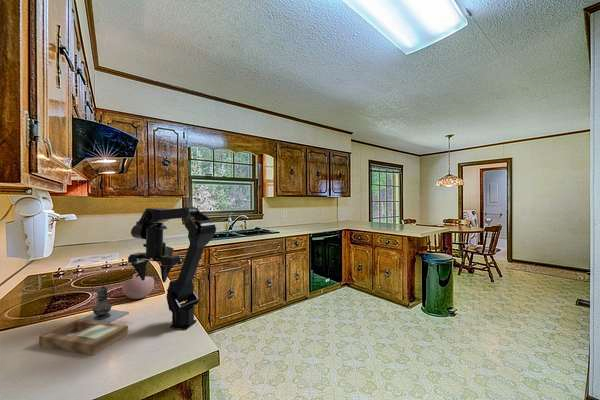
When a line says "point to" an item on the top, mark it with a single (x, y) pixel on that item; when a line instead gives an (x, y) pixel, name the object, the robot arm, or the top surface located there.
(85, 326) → the puzzle board
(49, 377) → the top surface
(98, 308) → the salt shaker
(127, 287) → the mortar and pestle
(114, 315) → the slate tile
